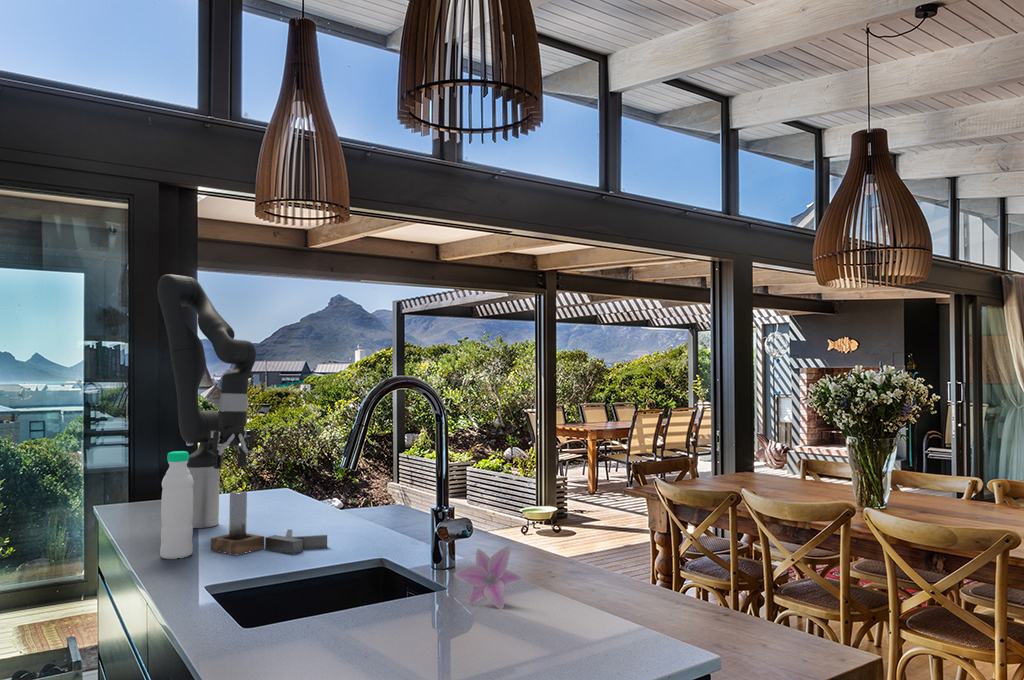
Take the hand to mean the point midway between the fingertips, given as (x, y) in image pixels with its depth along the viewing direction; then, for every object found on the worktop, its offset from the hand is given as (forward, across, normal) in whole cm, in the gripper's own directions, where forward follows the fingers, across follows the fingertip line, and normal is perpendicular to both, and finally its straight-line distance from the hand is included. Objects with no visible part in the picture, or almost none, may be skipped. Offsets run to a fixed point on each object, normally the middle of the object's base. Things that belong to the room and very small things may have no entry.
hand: (229, 467), depth 204 cm
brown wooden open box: (+18, +14, +20) cm, 30 cm away
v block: (+17, +7, +31) cm, 36 cm away
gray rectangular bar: (+18, +14, +20) cm, 30 cm away
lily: (+18, +24, +96) cm, 101 cm away
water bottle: (+19, +25, +11) cm, 34 cm away
